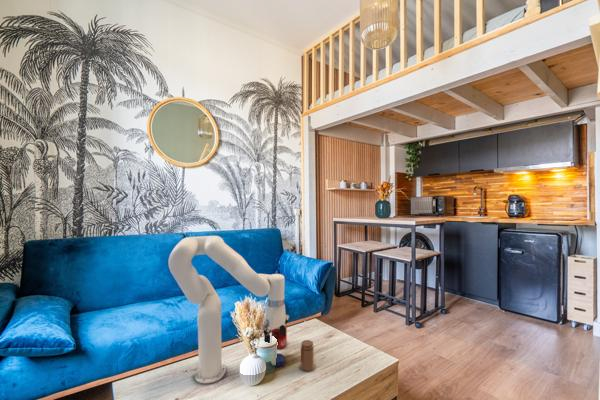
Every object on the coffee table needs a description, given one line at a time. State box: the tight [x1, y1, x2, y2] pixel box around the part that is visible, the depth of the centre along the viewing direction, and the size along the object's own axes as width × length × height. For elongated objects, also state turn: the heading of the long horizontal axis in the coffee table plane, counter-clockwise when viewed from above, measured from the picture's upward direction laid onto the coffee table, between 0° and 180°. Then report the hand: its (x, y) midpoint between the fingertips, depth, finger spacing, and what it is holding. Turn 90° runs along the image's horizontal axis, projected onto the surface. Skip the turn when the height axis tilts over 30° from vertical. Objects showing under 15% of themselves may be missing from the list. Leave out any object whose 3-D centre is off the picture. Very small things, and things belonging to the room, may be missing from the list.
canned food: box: [271, 326, 288, 350], centre depth 142 cm, size 8×8×11 cm
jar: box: [300, 339, 315, 372], centre depth 124 cm, size 6×6×11 cm
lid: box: [273, 353, 286, 368], centre depth 127 cm, size 7×7×2 cm
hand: (274, 339), depth 127 cm, fingers open, 9 cm apart
